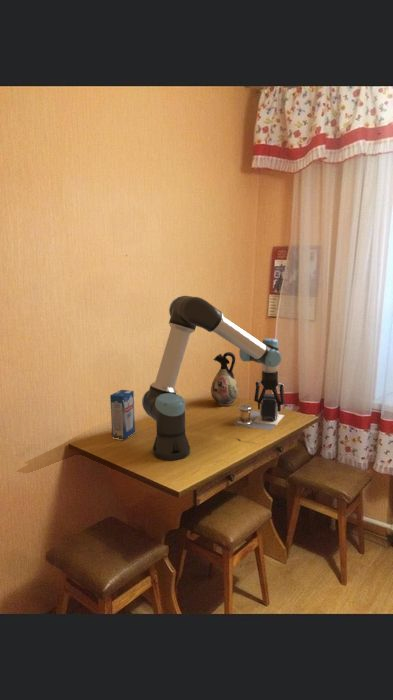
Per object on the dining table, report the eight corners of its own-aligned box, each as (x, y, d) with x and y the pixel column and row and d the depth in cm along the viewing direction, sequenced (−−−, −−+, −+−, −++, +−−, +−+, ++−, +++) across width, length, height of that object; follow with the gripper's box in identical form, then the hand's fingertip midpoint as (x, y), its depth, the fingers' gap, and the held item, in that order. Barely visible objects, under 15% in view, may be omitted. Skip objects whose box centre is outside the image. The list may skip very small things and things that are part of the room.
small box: (275, 421, 204) (275, 399, 202) (261, 420, 205) (261, 399, 204) (276, 414, 214) (276, 393, 212) (263, 413, 215) (263, 393, 214)
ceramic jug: (206, 406, 237) (206, 352, 232) (216, 399, 251) (216, 348, 246) (236, 409, 230) (236, 354, 225) (244, 402, 244) (244, 350, 239)
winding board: (232, 427, 203) (232, 423, 203) (249, 413, 224) (249, 409, 224) (271, 433, 195) (271, 429, 195) (285, 417, 216) (285, 414, 216)
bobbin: (235, 424, 203) (235, 407, 202) (240, 419, 210) (240, 403, 208) (249, 426, 200) (249, 409, 199) (254, 421, 207) (254, 405, 205)
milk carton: (123, 431, 200) (121, 389, 196) (135, 432, 198) (133, 390, 194) (112, 438, 190) (110, 395, 187) (124, 440, 188) (122, 396, 185)
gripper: (292, 371, 205) (291, 417, 209) (252, 367, 214) (251, 411, 217) (288, 374, 198) (287, 421, 202) (247, 370, 207) (246, 416, 211)
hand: (269, 416), depth 210 cm, fingers closed on small box, 7 cm apart
